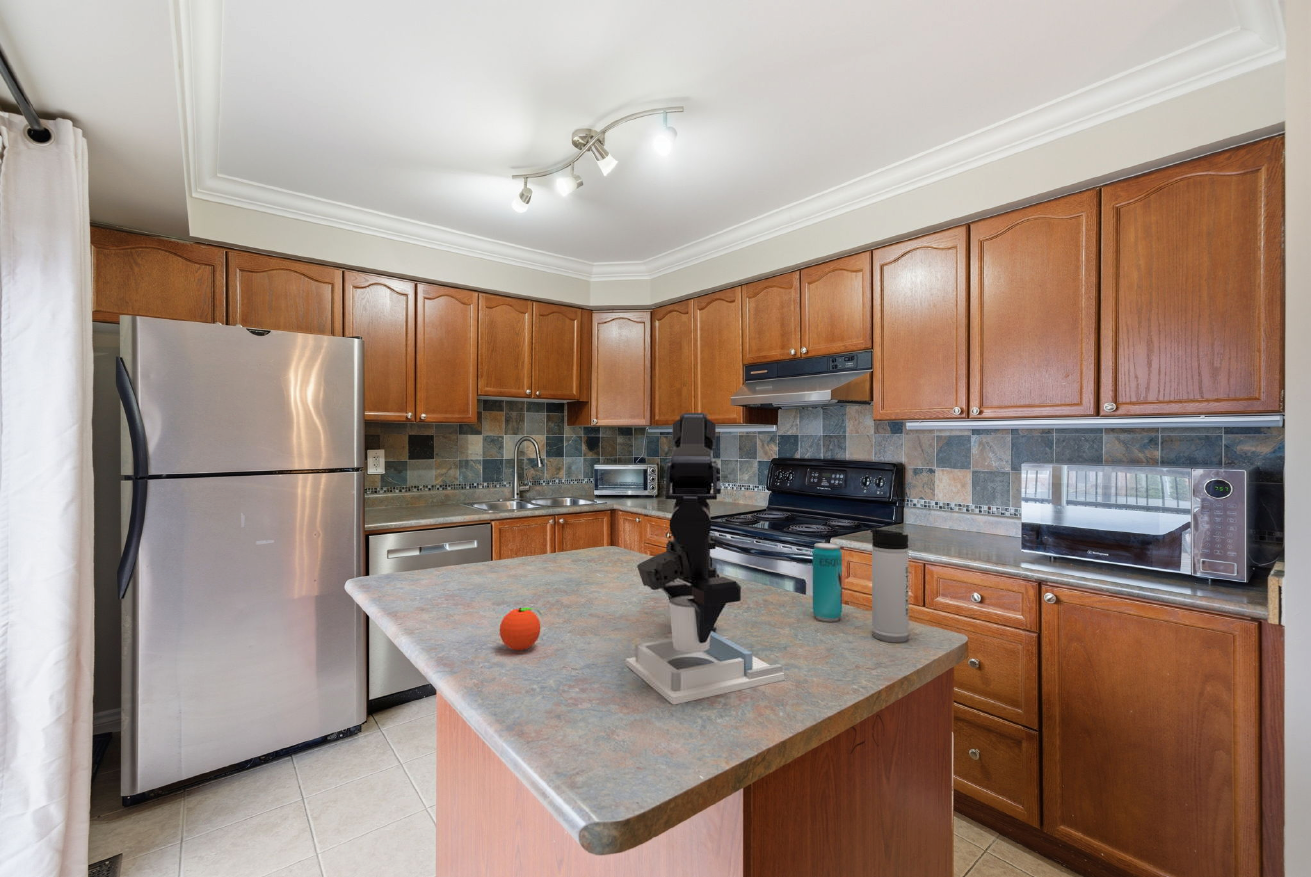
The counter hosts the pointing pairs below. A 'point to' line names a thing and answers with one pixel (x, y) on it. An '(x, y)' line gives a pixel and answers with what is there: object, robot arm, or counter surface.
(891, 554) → the travel mug
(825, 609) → the beverage can
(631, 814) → the counter surface
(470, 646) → the counter surface
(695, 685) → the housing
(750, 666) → the gate
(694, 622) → the white cup
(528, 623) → the clementine
